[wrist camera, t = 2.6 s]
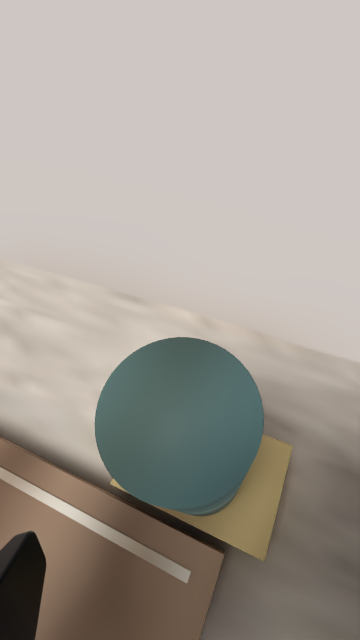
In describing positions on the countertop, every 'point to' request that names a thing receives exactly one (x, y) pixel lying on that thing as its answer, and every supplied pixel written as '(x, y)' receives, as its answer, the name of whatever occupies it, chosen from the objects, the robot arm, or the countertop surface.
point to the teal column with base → (193, 440)
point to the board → (104, 557)
